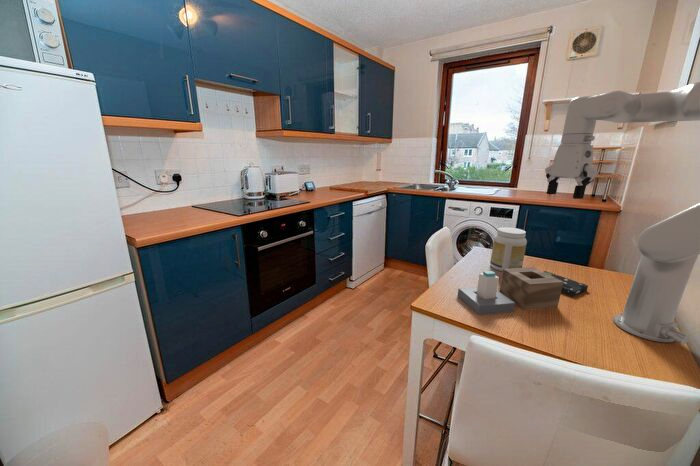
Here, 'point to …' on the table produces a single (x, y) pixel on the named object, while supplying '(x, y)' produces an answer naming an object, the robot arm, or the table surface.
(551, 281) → the upper socket tower
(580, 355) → the table surface
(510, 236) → the supplement tub
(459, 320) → the table surface
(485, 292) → the plug peg
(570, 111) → the robot arm
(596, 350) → the table surface
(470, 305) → the lower socket plate
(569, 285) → the disk drive
